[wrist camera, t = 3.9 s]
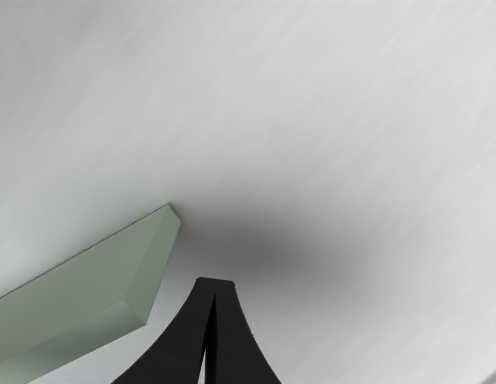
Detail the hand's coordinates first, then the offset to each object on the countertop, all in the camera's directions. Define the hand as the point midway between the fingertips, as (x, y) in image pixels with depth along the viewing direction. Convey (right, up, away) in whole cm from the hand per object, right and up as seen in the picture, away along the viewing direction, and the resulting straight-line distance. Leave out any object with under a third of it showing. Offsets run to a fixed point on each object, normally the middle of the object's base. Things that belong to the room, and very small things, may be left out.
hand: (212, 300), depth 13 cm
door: (-9, -1, +3) cm, 9 cm away
